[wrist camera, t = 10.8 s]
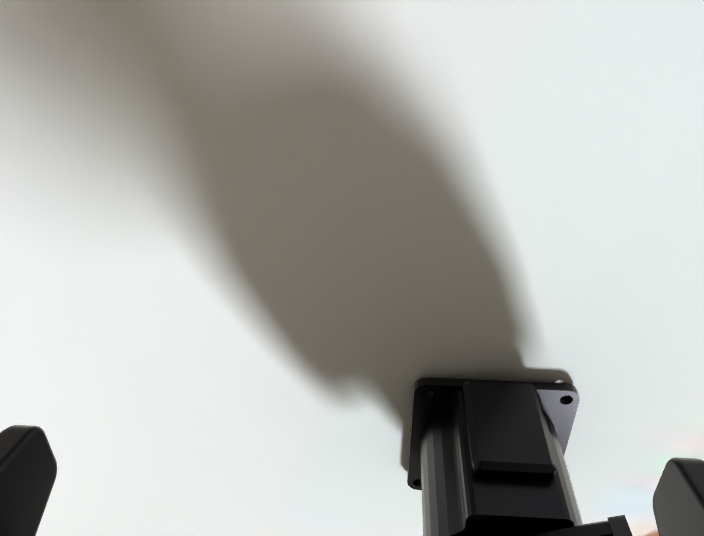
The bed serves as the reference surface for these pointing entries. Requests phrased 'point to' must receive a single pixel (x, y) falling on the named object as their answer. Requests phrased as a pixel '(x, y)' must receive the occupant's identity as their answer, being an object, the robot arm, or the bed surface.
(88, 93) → the bed surface
